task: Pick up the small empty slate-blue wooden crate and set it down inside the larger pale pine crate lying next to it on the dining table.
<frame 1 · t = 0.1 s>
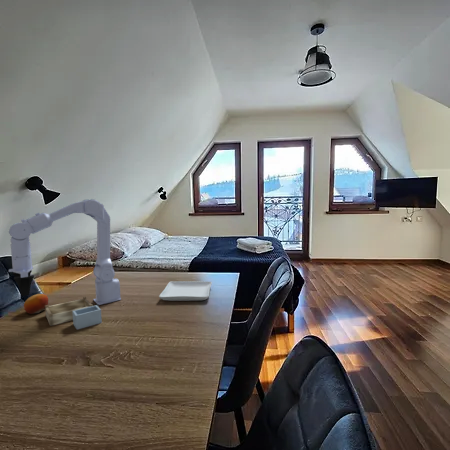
hand: (24, 292, 100), 10 cm above the table, tool pointing down, fingers open, 7 cm apart
fruit: (37, 311, 108), on the table
pine crate: (69, 315, 104), on the table
small crate: (87, 323, 97), on the table
salad plate: (187, 295, 125), on the table
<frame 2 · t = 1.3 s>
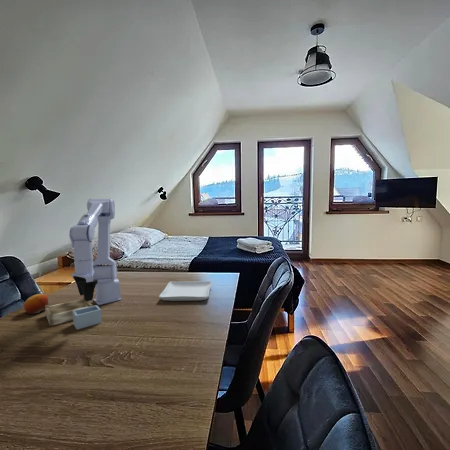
hand: (86, 297, 96), 9 cm above the table, tool pointing down, fingers open, 7 cm apart
nothing on the table moved.
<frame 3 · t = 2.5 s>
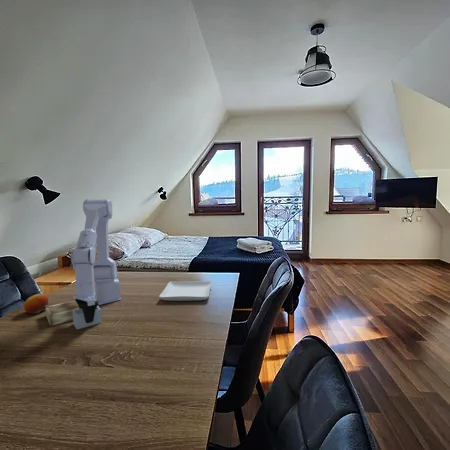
hand: (87, 319, 97), 1 cm above the table, tool pointing down, fingers closed on small crate, 5 cm apart
small crate: (87, 323, 97), on the table, touching gripper
everything else where it was.
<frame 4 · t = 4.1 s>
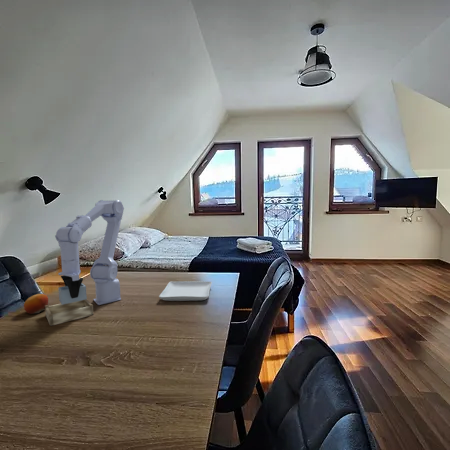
hand: (72, 295, 101), 8 cm above the table, tool pointing down, fingers closed on small crate, 5 cm apart
small crate: (73, 299, 101), point 7 cm above the table, touching gripper
everything else where it was.
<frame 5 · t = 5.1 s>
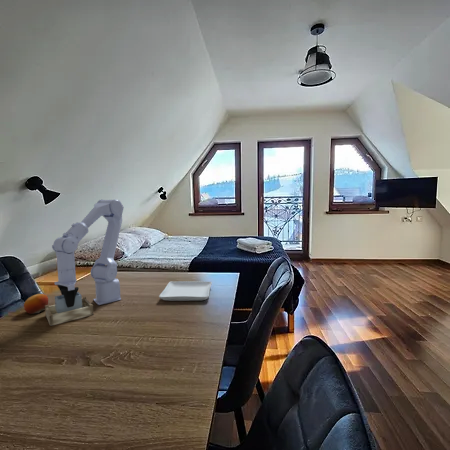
hand: (68, 304, 103), 4 cm above the table, tool pointing down, fingers closed on small crate, 5 cm apart
small crate: (68, 308, 103), point 3 cm above the table, touching gripper
everything else where it was.
when the fingers open (3 cm above the table, at t = 5.9 s): small crate stays where it is, resting on pine crate.
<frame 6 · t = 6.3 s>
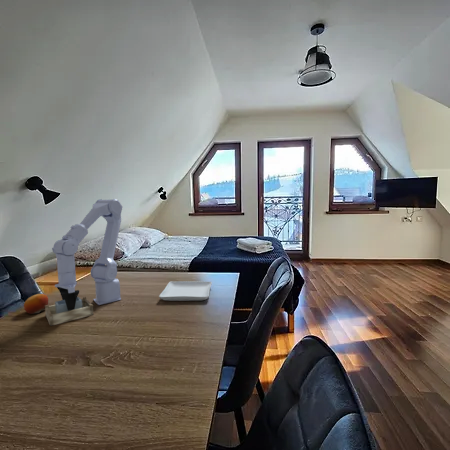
hand: (69, 306, 103), 3 cm above the table, tool pointing down, fingers open, 7 cm apart
pine crate: (69, 315, 104), on the table, touching small crate
small crate: (69, 313, 104), point 1 cm above the table, touching pine crate
everything else where it was.
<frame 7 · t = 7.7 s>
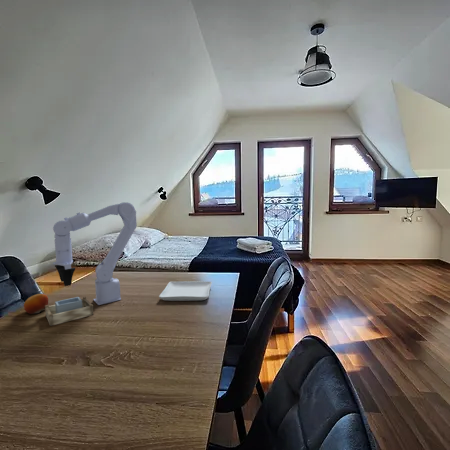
hand: (65, 283, 111), 10 cm above the table, tool pointing down, fingers open, 7 cm apart
nothing on the table moved.
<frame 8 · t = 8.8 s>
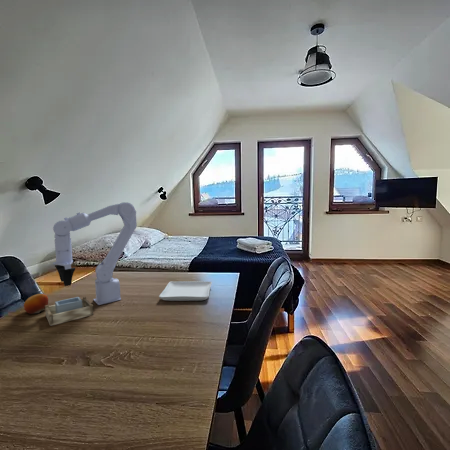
hand: (65, 283, 111), 10 cm above the table, tool pointing down, fingers open, 7 cm apart
nothing on the table moved.
at the end: small crate 0.1 cm off-centre on the pine crate, point 0.6 cm above the pine crate's base; small crate tilted 0°; the gripper is holding nothing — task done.
